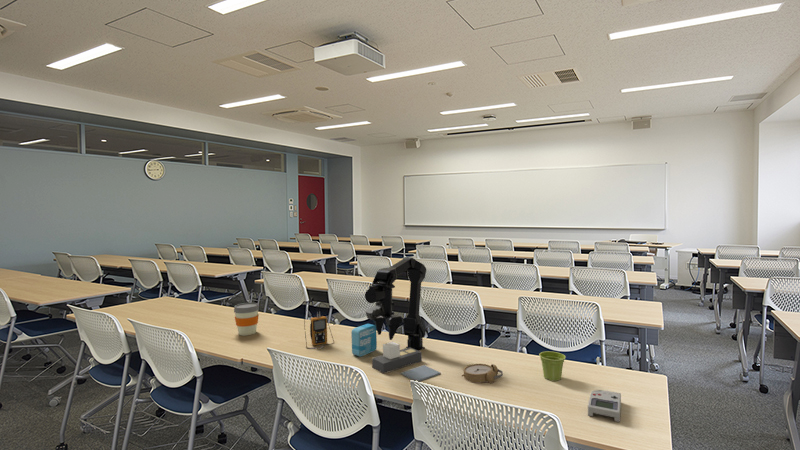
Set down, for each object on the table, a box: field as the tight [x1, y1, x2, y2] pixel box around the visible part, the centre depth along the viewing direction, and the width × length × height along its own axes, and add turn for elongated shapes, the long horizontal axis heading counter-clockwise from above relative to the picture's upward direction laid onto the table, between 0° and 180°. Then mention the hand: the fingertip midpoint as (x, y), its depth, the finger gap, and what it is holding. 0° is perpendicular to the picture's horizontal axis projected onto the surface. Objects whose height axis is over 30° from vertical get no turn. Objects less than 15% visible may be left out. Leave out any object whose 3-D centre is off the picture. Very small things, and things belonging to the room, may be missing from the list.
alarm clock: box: [461, 363, 504, 384], centre depth 160 cm, size 11×5×15 cm
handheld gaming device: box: [587, 389, 622, 423], centre depth 134 cm, size 9×15×4 cm, turn 151°
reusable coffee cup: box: [233, 302, 260, 336], centre depth 224 cm, size 12×13×15 cm
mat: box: [400, 364, 441, 382], centre depth 165 cm, size 12×10×1 cm
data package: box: [350, 323, 378, 357], centre depth 190 cm, size 12×4×12 cm, turn 142°
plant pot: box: [538, 351, 566, 382], centre depth 158 cm, size 9×9×9 cm
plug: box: [382, 341, 401, 359], centre depth 173 cm, size 5×5×9 cm
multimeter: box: [303, 302, 335, 350], centre depth 200 cm, size 15×10×20 cm
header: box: [371, 347, 423, 374], centre depth 175 cm, size 20×8×4 cm, turn 127°
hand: (384, 337), depth 173 cm, fingers open, 9 cm apart
